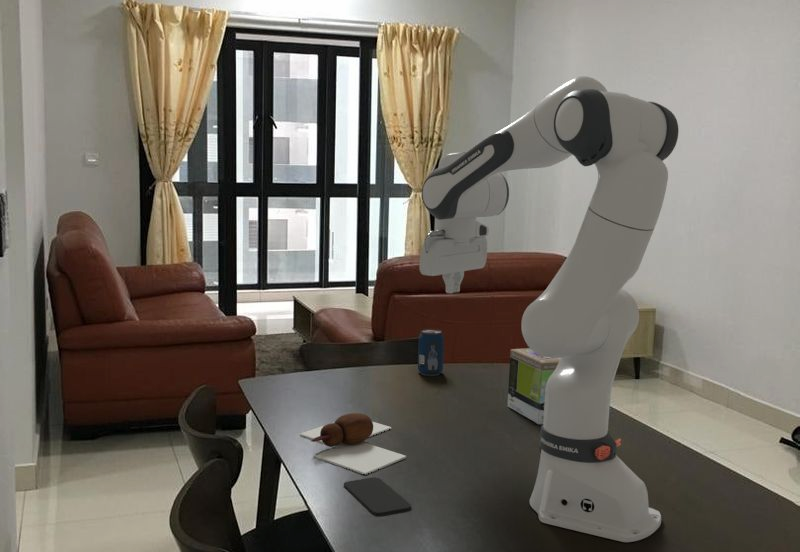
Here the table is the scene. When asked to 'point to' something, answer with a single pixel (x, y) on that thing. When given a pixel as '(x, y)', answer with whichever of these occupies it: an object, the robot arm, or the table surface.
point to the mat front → (316, 433)
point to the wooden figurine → (346, 430)
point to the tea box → (529, 382)
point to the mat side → (360, 457)
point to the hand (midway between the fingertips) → (452, 292)
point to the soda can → (430, 352)
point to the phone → (377, 496)
